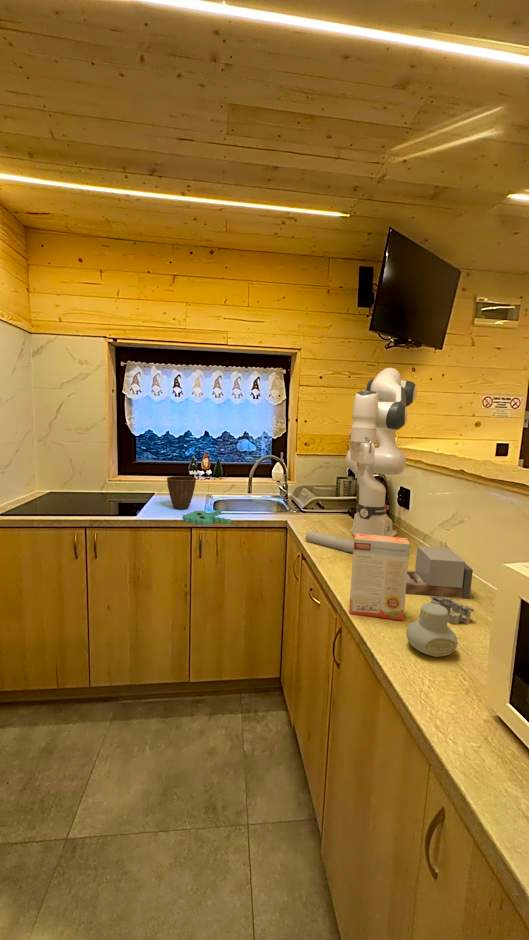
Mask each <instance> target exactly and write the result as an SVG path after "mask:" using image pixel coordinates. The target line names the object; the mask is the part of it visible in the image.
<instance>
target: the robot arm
mask: <svg viewBox="0 0 529 940" xmlns="http://www.w3.org/2000/svg"><path fill="white" fill-rule="evenodd" d="M417 392H418V390H417V384H415V382H413V381H410V380H403V379H402V376H401V373H400V371H399V370H397V369H396V368H394V367H386V368H383V369H382V370H381V371H379V372H378V374H376V376H375V377H374V378H372V379H370V380H368V382H367V383H366V386H365V390H360V391H358V392H356V393H355V396H354V399H353V406H352V413H351V415H352V425H351V426H350V427H351V429H350V434H349V435H348V440H349V441H350V443H349V450H348V451H347V453H346V455H345V464H346V466H347V467H348V469H350V470H351V471H352V473H353V474H354V475H355V478H356V480H357V482H358V490H359V491H358V495H359V496H358V503H357V506H356V511H357V512H356V513H355V514H354V517H353V524H352V528H350V530H349V532H351V533H352V535H353V536H354V537H355V533H358V534H368V535H378V536H389V537H396V535H397V534H398V531H397V530H395V529H393V520H392V519H391V518H390V517H389V516H388V514H387V510H389V508H390V505H389V504H386V493H387V490H386V487H385V485H384V484H383V483H382V482H380V481H379V480H377V479H376V478H375V475H374V474H377V475H378V474H379V475H385V476H386V475H387V476H391V475H392V476H393V475H400V474H402V473H403V472H404V471H405V469H406V467H407V456H406V455H405V454H404V452H403V451H402V450H400V449H399V447H398V446H397V444H396V436H397V431H398V430H400V429H402V428H403V427H404V426H406V424H407V420H408V410H407V407H409V406H410V405H412V404H413V402H414V401H415V399H416V397H417V394H418V393H417ZM375 446H377V447H375Z"/></svg>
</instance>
